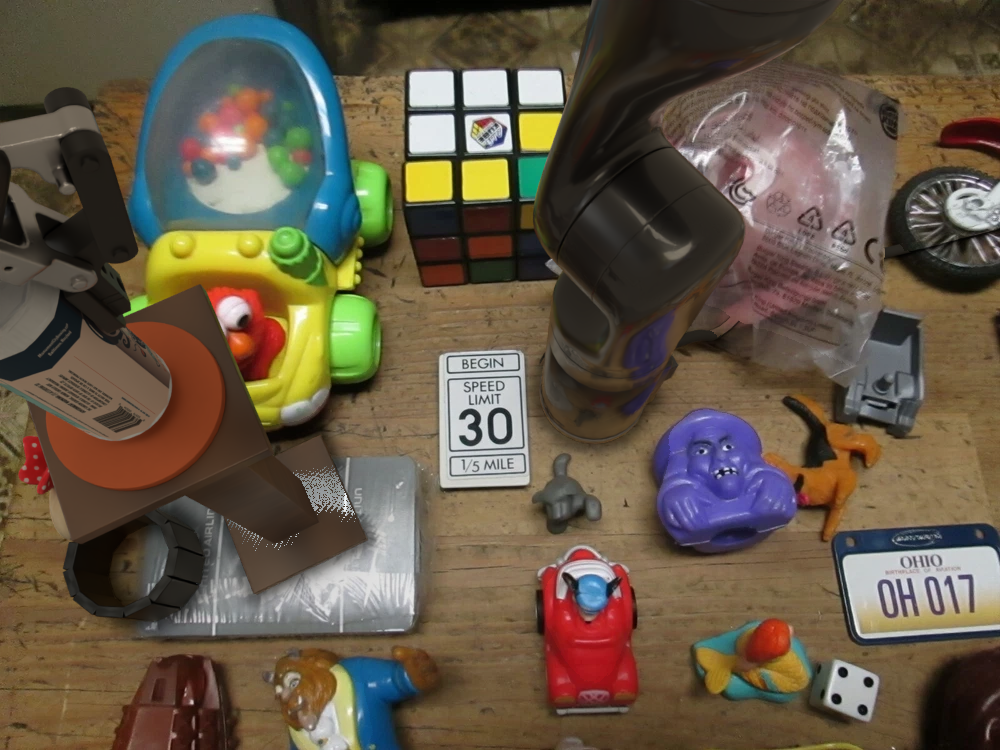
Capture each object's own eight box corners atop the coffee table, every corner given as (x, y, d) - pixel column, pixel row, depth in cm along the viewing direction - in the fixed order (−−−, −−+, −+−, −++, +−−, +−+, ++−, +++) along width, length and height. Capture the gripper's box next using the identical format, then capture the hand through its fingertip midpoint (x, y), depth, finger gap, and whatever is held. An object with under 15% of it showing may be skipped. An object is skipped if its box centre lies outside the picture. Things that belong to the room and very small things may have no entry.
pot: (184, 498, 71) (156, 484, 65) (218, 591, 68) (192, 584, 63) (86, 544, 70) (50, 533, 64) (118, 640, 67) (83, 637, 62)
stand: (322, 437, 73) (200, 283, 44) (368, 540, 70) (269, 449, 41) (214, 487, 71) (13, 363, 42) (256, 595, 68) (71, 541, 39)
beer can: (191, 362, 40) (68, 244, 29) (152, 455, 39) (5, 368, 27) (101, 338, 41) (-56, 212, 29) (58, 428, 39) (-124, 333, 28)
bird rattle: (156, 522, 72) (150, 419, 72) (94, 560, 61) (86, 438, 61) (85, 524, 72) (78, 421, 72) (10, 562, 61) (1, 441, 61)
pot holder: (192, 299, 43) (187, 294, 43) (251, 443, 41) (247, 439, 40) (30, 369, 42) (24, 365, 41) (81, 521, 39) (74, 519, 39)
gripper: (-790, 328, 15) (-112, 503, 31) (1, 31, 17) (250, 341, 33) (-784, 24, 17) (-155, 335, 33) (-87, -206, 19) (186, 193, 35)
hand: (46, 337), depth 33 cm, fingers closed on beer can, 4 cm apart
